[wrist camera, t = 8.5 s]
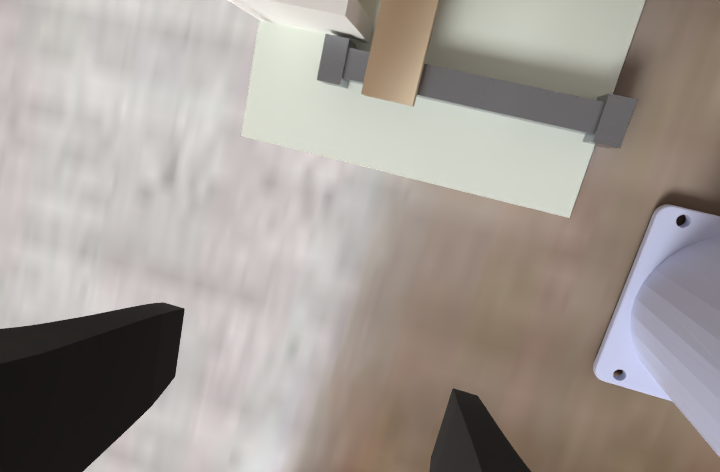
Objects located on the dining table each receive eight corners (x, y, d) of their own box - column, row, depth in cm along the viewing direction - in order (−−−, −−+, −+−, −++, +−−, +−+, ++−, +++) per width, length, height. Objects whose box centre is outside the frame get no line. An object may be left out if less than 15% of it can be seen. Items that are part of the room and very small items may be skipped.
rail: (622, 102, 18) (637, 99, 17) (606, 147, 19) (620, 148, 17) (335, 41, 20) (325, 33, 18) (326, 84, 20) (316, 79, 19)
